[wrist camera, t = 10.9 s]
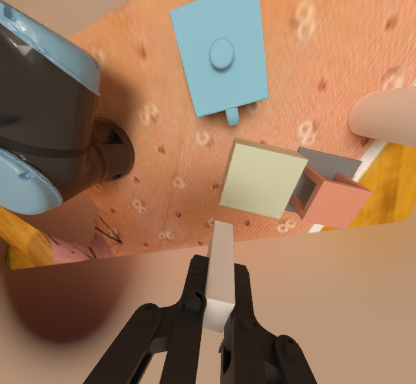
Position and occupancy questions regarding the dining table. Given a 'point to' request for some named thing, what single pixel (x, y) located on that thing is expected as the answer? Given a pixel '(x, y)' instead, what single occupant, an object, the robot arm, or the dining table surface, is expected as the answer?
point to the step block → (260, 178)
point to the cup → (386, 116)
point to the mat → (321, 172)
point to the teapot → (222, 54)
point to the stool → (331, 200)
